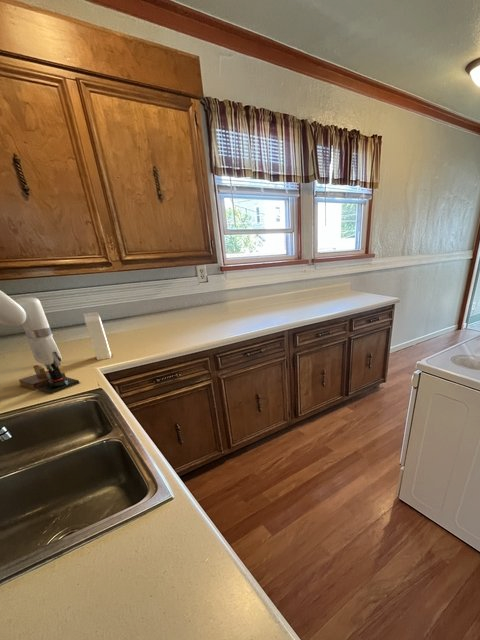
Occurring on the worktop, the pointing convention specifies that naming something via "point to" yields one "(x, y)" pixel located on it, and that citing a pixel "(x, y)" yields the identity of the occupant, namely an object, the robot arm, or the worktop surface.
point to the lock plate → (35, 381)
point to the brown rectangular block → (40, 371)
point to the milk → (97, 335)
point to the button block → (58, 385)
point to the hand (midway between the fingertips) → (57, 378)
